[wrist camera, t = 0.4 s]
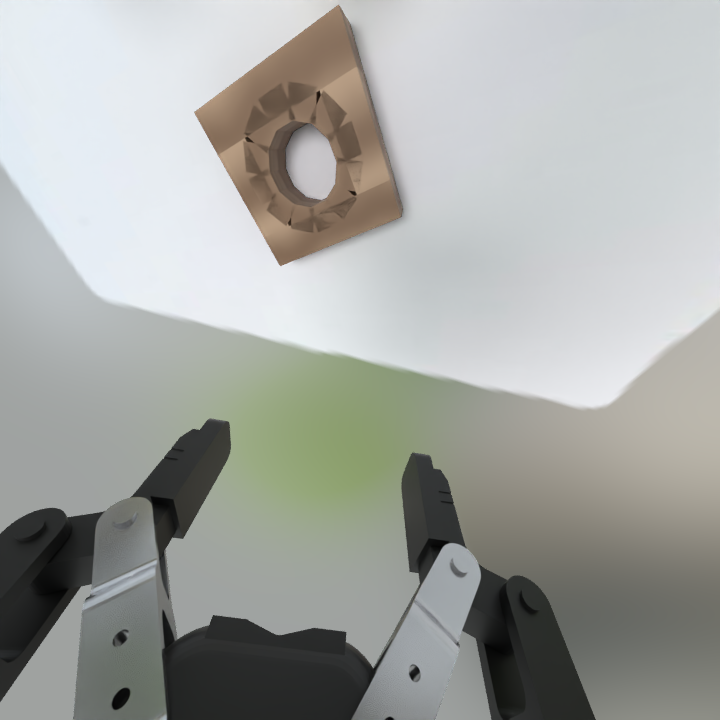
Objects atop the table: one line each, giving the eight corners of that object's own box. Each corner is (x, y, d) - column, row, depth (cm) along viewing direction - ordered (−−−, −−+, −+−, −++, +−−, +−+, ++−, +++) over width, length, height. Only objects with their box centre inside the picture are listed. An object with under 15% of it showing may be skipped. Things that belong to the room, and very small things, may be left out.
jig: (219, 115, 27) (194, 112, 24) (350, 23, 22) (338, 4, 19) (292, 254, 34) (280, 266, 31) (402, 209, 29) (400, 217, 26)
